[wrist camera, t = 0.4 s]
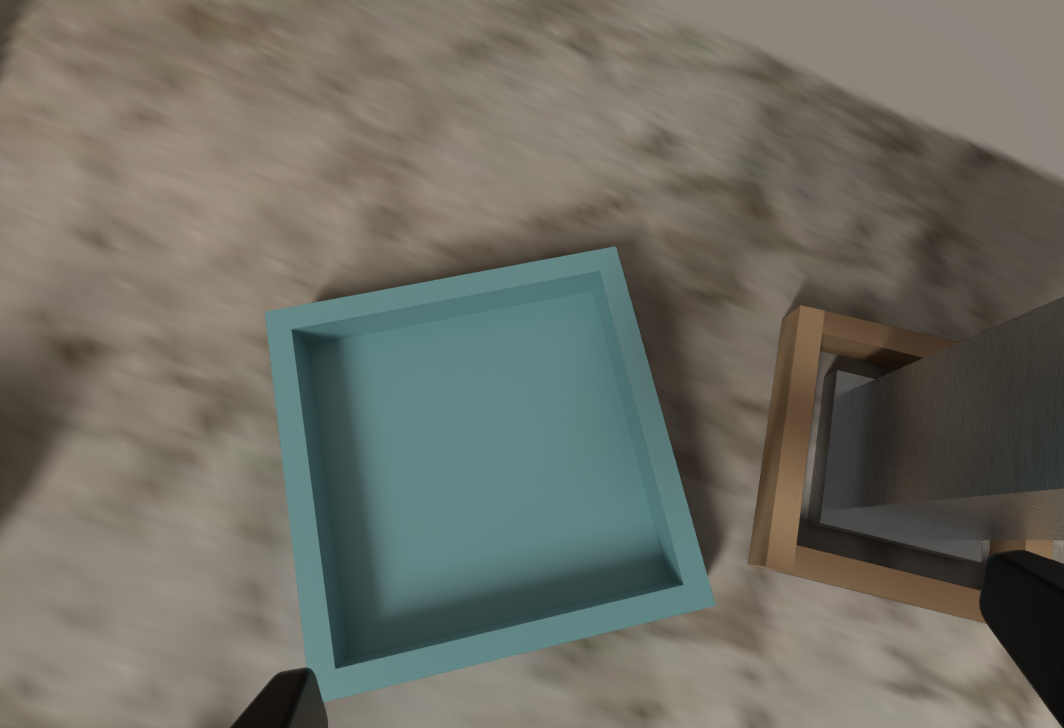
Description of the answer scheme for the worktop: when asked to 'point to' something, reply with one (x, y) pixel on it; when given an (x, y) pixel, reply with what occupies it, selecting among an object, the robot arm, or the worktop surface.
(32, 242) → the worktop surface
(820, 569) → the socket
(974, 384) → the plate
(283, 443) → the parts tray
